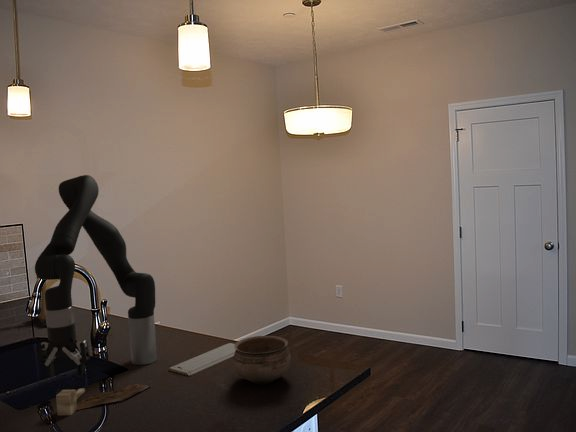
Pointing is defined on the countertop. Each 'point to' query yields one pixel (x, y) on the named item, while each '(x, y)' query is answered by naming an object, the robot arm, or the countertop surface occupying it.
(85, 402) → the wooden fragment
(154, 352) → the robot arm
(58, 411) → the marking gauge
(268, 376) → the cooking pot
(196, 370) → the baseboard molding
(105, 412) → the countertop surface
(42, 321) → the hammer
